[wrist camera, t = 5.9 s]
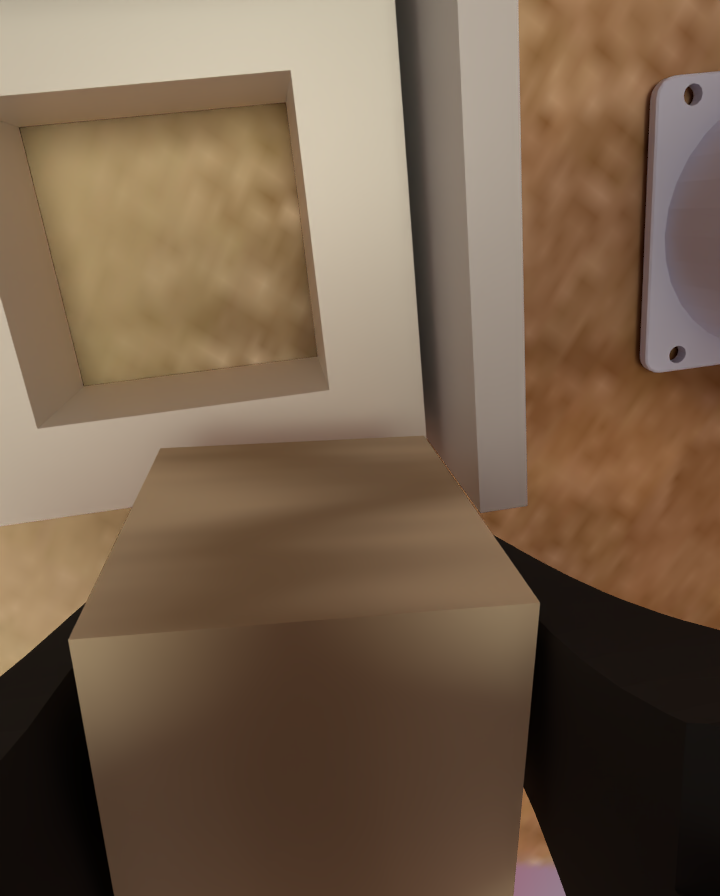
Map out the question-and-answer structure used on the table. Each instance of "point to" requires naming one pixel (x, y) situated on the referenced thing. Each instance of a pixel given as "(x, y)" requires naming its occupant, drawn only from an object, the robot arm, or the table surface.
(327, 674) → the peg
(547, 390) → the table surface
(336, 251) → the housing
